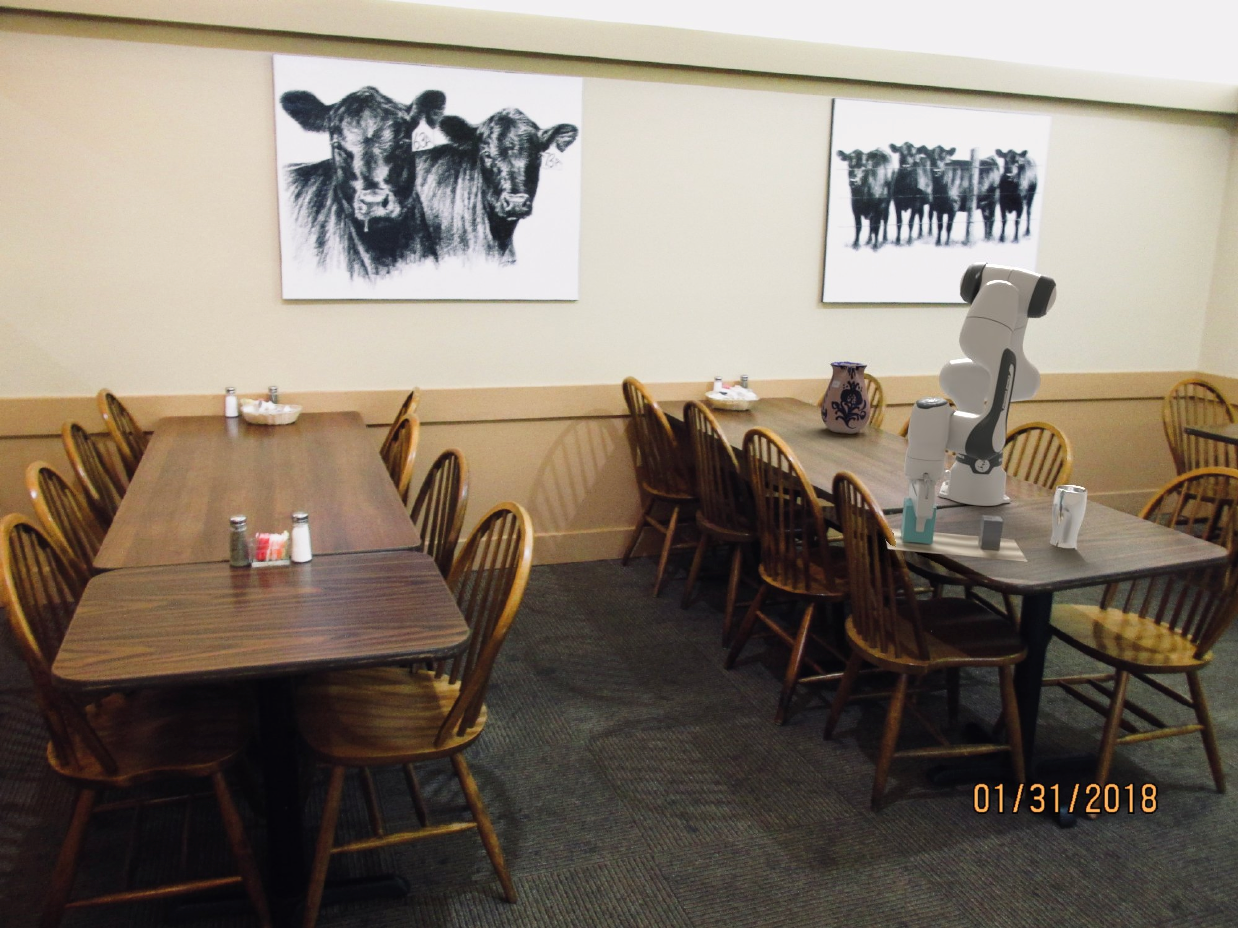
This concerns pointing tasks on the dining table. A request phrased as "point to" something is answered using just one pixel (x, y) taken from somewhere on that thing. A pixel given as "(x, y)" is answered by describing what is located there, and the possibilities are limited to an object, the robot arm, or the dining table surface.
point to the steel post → (990, 532)
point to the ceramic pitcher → (846, 399)
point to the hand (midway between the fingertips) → (917, 525)
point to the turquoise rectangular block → (910, 523)
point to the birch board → (960, 546)
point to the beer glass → (1067, 515)
